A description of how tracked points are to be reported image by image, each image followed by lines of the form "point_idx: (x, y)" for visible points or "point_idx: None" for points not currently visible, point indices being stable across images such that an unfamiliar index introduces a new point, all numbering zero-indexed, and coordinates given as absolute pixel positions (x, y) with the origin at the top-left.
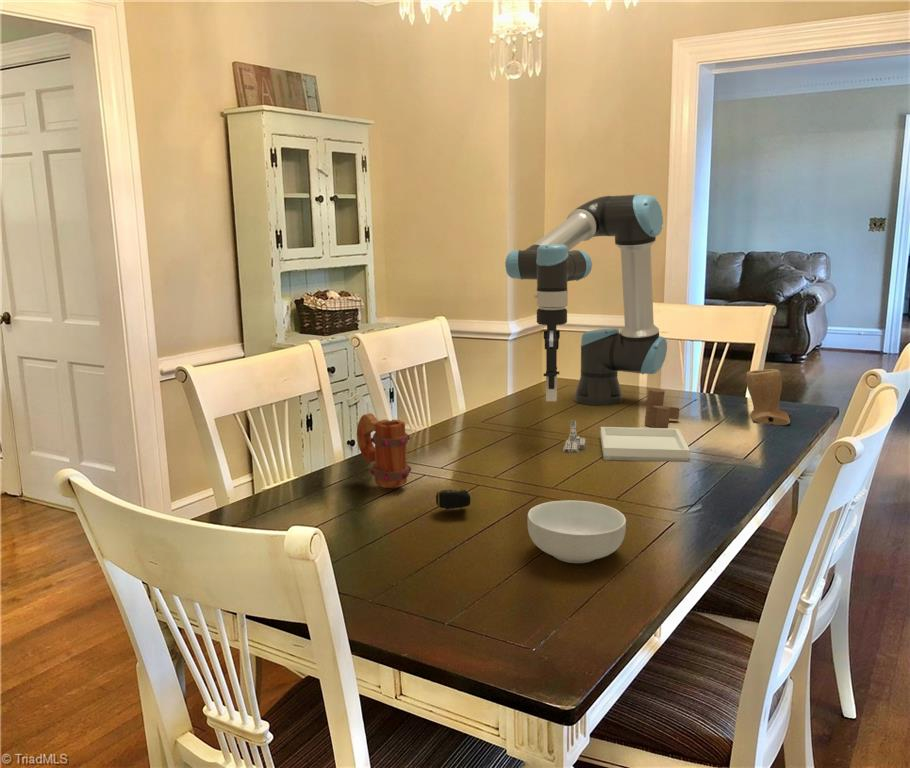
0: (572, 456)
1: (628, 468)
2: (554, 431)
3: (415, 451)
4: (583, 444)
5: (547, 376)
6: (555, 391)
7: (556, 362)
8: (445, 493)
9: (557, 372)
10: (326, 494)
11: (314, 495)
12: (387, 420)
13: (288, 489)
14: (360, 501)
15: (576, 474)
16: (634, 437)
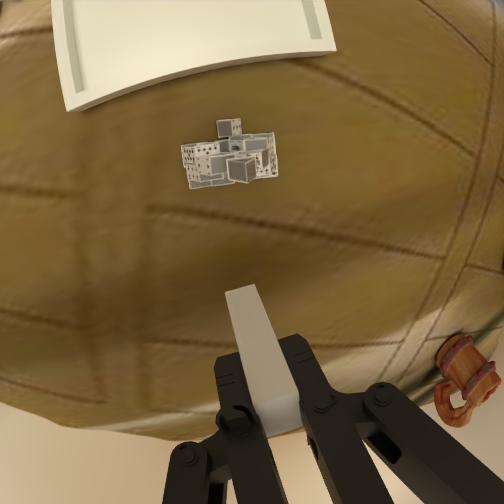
0: (310, 140)
1: (366, 7)
2: (74, 260)
3: None
4: (240, 122)
5: (301, 420)
6: (268, 322)
7: (257, 497)
8: None
9: (257, 419)
10: None
11: None
12: (480, 402)
13: None
14: (476, 337)
15: (428, 119)
16: (89, 9)
